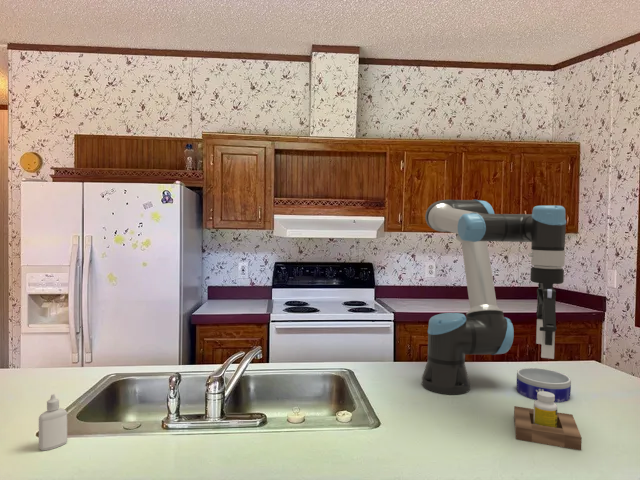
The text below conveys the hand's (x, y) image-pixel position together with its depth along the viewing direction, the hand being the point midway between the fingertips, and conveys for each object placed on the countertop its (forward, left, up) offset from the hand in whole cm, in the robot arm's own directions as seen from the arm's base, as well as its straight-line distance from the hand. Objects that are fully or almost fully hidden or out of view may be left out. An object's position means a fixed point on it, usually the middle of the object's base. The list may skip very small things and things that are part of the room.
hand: (544, 350), depth 114 cm
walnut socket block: (0, +1, -21) cm, 21 cm away
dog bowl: (-30, +3, -21) cm, 37 cm away
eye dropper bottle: (+53, -106, -21) cm, 121 cm away
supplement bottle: (0, +1, -21) cm, 21 cm away
